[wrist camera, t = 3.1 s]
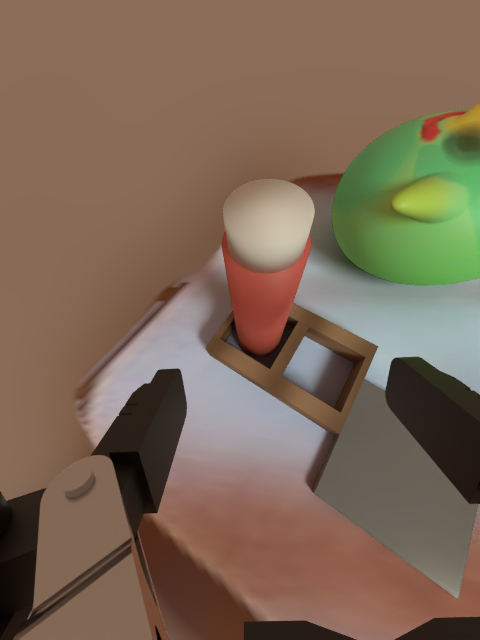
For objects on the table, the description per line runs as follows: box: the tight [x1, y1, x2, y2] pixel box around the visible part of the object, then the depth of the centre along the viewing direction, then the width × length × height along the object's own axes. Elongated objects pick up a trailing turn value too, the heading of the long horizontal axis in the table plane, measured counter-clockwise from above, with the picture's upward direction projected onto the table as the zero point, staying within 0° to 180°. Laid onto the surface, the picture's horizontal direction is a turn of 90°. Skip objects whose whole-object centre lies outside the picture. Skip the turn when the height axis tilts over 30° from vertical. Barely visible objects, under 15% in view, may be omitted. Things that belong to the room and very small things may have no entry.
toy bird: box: [332, 103, 480, 285], centre depth 22 cm, size 18×17×15 cm
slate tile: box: [312, 380, 478, 599], centre depth 20 cm, size 11×11×1 cm
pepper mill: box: [222, 179, 315, 358], centre depth 18 cm, size 5×5×17 cm
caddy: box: [206, 303, 378, 434], centre depth 24 cm, size 14×9×2 cm, turn 57°
